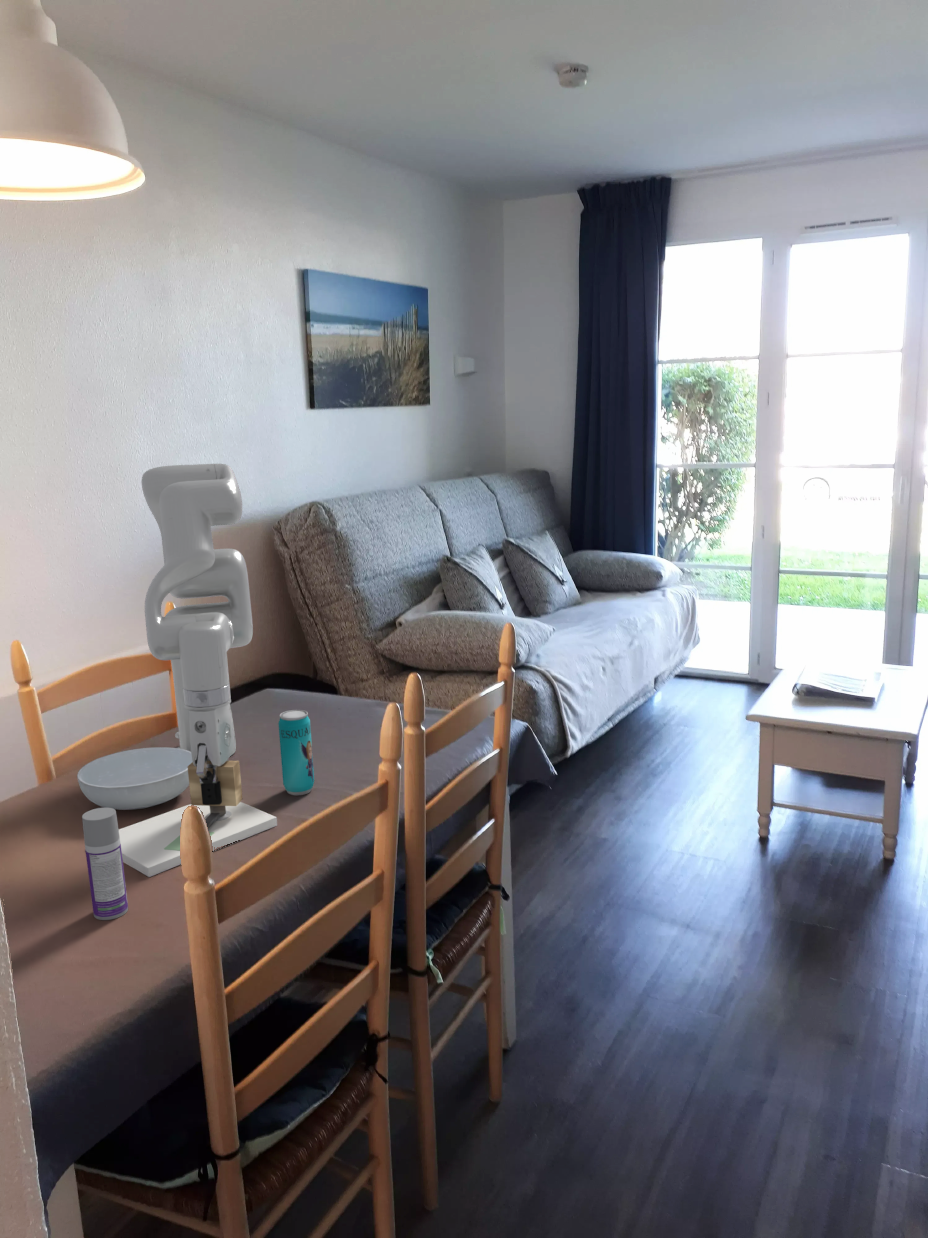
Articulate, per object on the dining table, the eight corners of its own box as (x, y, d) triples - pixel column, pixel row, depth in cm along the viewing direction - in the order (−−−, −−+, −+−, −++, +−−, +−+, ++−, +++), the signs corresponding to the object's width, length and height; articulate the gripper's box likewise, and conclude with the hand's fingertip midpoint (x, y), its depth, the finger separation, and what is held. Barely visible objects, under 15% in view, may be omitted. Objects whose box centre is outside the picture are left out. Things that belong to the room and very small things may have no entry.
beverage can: (308, 797, 176) (302, 719, 173) (279, 796, 177) (272, 718, 174) (319, 785, 182) (313, 709, 179) (290, 784, 183) (284, 708, 180)
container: (99, 905, 140) (86, 808, 137) (132, 902, 140) (120, 806, 137) (89, 921, 135) (76, 821, 132) (123, 919, 136) (111, 819, 132)
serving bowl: (223, 789, 182) (220, 755, 180) (135, 832, 164) (131, 794, 163) (146, 772, 192) (143, 739, 191) (56, 811, 175) (51, 775, 173)
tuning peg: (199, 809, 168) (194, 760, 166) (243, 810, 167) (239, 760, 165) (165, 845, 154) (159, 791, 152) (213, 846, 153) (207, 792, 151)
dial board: (96, 846, 159) (95, 837, 159) (221, 801, 176) (220, 792, 176) (150, 878, 147) (149, 868, 147) (279, 826, 164) (278, 817, 164)
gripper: (214, 710, 153) (224, 818, 157) (243, 681, 169) (251, 779, 173) (167, 711, 153) (178, 818, 157) (201, 682, 170) (210, 780, 174)
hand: (217, 797), depth 165 cm, fingers open, 4 cm apart
